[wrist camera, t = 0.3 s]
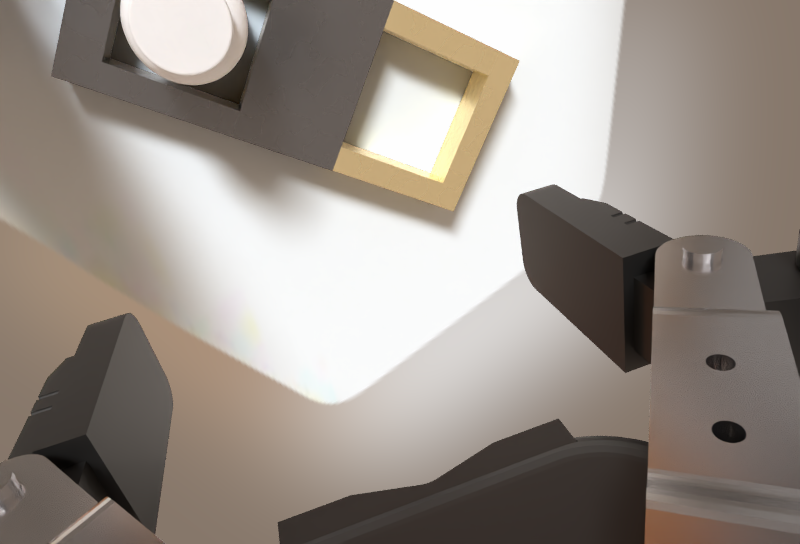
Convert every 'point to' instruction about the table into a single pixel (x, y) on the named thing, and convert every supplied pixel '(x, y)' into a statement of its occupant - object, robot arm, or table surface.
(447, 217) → the table surface
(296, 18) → the rail
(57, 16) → the table surface
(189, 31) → the supplement bottle
